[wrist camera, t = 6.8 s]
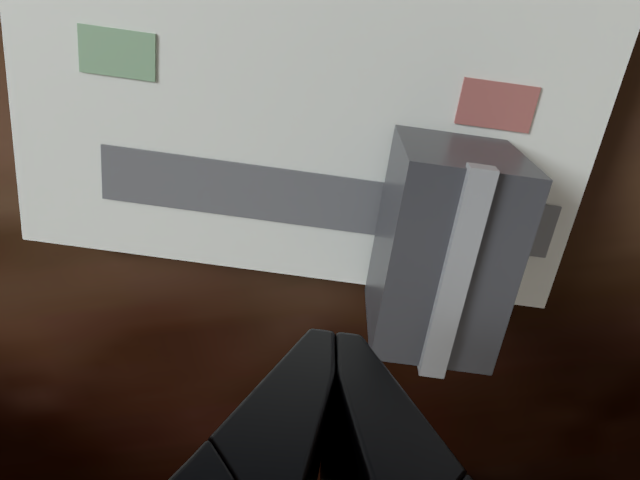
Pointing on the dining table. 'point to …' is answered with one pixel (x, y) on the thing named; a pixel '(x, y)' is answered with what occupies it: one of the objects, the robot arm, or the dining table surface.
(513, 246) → the block
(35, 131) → the breaker panel
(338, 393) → the robot arm
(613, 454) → the dining table surface
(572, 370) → the dining table surface
